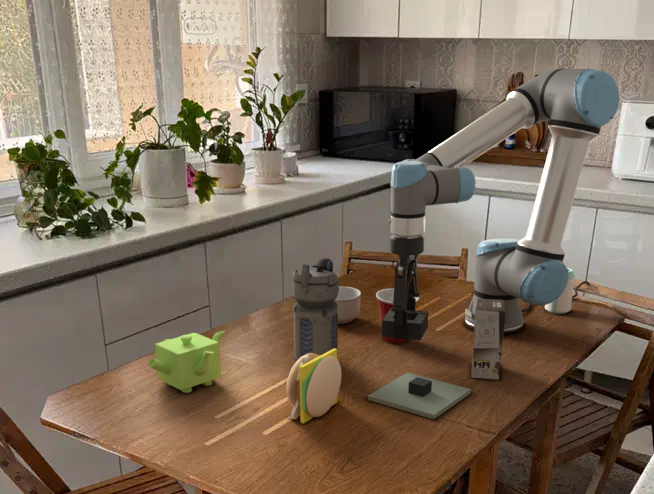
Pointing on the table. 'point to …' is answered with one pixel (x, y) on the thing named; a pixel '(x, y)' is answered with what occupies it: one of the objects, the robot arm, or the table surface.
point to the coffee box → (488, 338)
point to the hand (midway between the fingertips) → (404, 331)
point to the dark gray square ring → (415, 324)
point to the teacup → (348, 304)
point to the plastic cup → (388, 308)
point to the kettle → (188, 360)
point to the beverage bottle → (315, 309)
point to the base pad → (419, 395)
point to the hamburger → (313, 385)
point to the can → (563, 297)
